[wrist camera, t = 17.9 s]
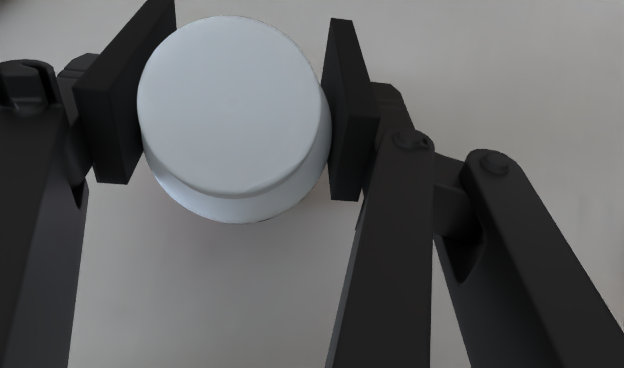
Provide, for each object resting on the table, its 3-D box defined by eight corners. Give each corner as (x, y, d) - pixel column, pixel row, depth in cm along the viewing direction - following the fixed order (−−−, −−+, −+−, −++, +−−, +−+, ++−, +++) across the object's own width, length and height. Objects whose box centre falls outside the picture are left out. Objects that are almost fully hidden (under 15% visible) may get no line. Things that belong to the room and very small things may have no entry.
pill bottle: (184, 220, 18) (90, 225, 8) (188, 99, 18) (105, -32, 9) (307, 221, 19) (354, 228, 9) (309, 104, 19) (356, -11, 9)
